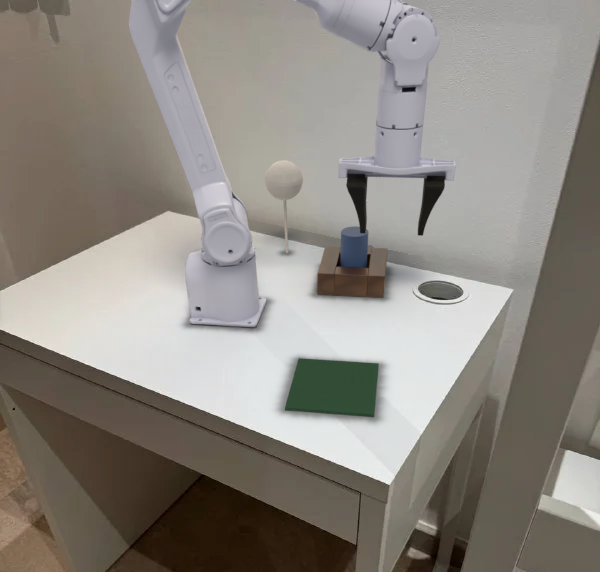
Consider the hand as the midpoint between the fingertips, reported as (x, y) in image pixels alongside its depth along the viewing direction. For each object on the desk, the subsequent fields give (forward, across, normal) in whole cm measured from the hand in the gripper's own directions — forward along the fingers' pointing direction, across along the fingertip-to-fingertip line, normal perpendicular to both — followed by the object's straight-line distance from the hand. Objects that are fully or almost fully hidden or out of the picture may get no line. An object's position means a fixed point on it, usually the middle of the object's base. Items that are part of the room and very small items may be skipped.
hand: (391, 231), depth 80 cm
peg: (+10, +5, -5) cm, 13 cm away
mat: (+10, +5, +22) cm, 25 cm away
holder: (+10, +5, -5) cm, 13 cm away
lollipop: (+10, +17, -15) cm, 25 cm away
